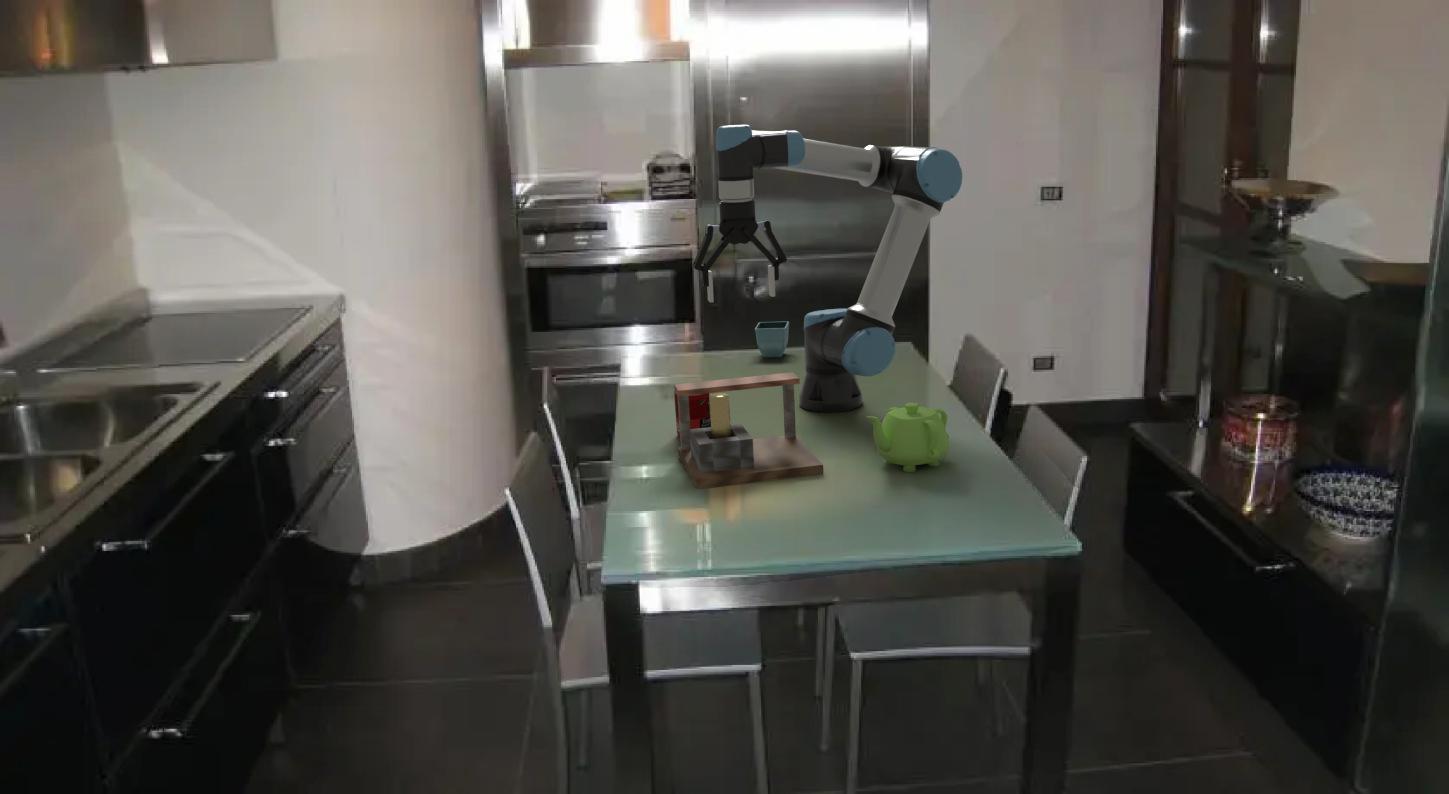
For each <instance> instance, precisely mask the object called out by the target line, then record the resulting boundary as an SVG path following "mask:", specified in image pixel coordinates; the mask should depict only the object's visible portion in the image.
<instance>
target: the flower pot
mask: <svg viewBox="0 0 1449 794" xmlns="http://www.w3.org/2000/svg"><path fill="white" fill-rule="evenodd" d="M789 329H790V322H789V321H761V322H758V323H757V325H756V326H755V328H754V332H755V338H756V343H757V348H758V350H759V351H760V354H761V355H762V356H763V358H766V359H767V358H782V357H783V355H784V352H785V351H786V349H787V346H788V341H789V332H790V331H789Z"/></svg>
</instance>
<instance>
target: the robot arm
mask: <svg viewBox="0 0 1449 794" xmlns="http://www.w3.org/2000/svg"><path fill="white" fill-rule="evenodd" d="M715 133H716V134H715V135H716V136H715V151H716V162H717V176H718V177H717V179H718V180H717V181H718V198H719V199H720V200H721V201H719V204H718V205H719V225H715V224H714V225H712V224H709V223H708V224H706V225H705V231H704V233H705V234H704V236H703V239H702V241H701V244H700V246H699V249H698V251H697V254H696V255H695V259H694V261H693V264H692V268H693V269H695V271H699V272H701V285H702V286H703V287H704V288H705V287H706V289H707V301H708V302H709V303H714V283H713V271H711V270H710V269H711V268H712V266H713V265H714V264H715V262H716V261H717V259H718V258H719V257H720V256H721V254H722V253H723V252H724V250H725V248H726V247H728V245H730V244H731V245H735V246H736V245H738V244H745V245H746V244H748V243H752V245H754V247H755V248H756V249H757V250H758V251H759V252H760V253H761V254H762V255H763V257H765V259H767V260H768V262H769V263H771V264H769V265H767V276H768V277H767V280H768V281H767V282H768V295H769V296H770V297H771V298H772V297H773V298H774V297H776V283H775V282H776V281H779V280H780V269H779V268H780V265H781V264H784V263H786V262H787V261H788V258H787V256H786V255H785V253H784V251H783V249H782V248H781V246H780V244H779V241H778V240H777V238H776V236H775V234H774V233H773V231H772V223H771V222H770V221H769V220H767V219H763V220H762V221H759V222H758V221H757V220H756V204H755V203H756V202H755V200H754V199H753V198H754V197H755V184H754V182H755V180H754V170H760V169H761V170H763V169H776V170H777V169H778V170H784V171H790V172H796V173H803V174H804V173H805V174H810V175H815V176H816V175H817V176H821V177H823V176H824V177H831V178H836V179H843V180H850V181H856V182H858V183H859V185H860V186H862V187H865V188H866V187H867V188H873V189H876V190H880V191H882V192H885V193H890V194H891V199H892V202H893V204H894V207H893V211H892V213H891V215H890V218H889V221H888V222H887V226H886V228H885V231H884V233H883V234H882V235H883V236H882V239H881V241H880V243H879V246H878V249H877V251H876V253H875V256H874V259H873V261H872V264H871V265H870V268H869V272H868V273H867V276H866V279H865V282H864V284H863V286H862V289H861V292H860V294H859V297H858V299H857V302H856V303H855V304H854V305H852V306H850V307H847V308H833V309H832V308H831V309H824V310H823V309H822V310H815V311H812V312H808V313H806V315H804V319H803V336H804V337H803V338H804V340H803V341H804V359H805V360H804V363H805V364H804V365H805V376H804V377H803V382H802V384H801V385H802V386H801V389H800V393H799V395H798V396H799V406H800V407H801V408H802V409H805V410H806V411H813V412H819V413H835V412H843V411H844V412H845V411H849V410H853V409H856V408H859V407H860V406H861V405H862V404H863V394H862V390H861V388H860V385H859V382H858V379H857V377H856V376H862V377H874V376H877V375H878V374H881V373H882V372H884V371H885V370H887V368H888V367H889V366H890V365H891V364H892V361H893V360H894V356H895V353H896V344H895V339H894V337H893V333H894V330H895V329H896V325H895V322H894V320H893V315H894V312H895V310H896V307H897V305H898V302H899V300H900V297H901V295H902V292H903V290H904V287H905V284H906V282H907V280H908V277H909V274H910V272H911V270H912V267H913V264H914V261H915V259H916V257H917V254H918V252H919V248H920V246H921V244H922V241H923V239H924V236H925V234H926V232H927V231H926V230H927V229H928V226H929V223H930V221H931V220H932V218H935V217H937V216H939V215H940V213H941V211H942V209H943V206H944V203H945V202H948V201H950V200H951V199H954V198H955V197H956V196H957V195H958V193H959V191H960V190H961V188H962V182H963V171H962V170H963V169H962V167H961V165H960V161H959V160H958V158H957V157H956V155H954V153H952V152H950V151H948V150H946V149H943V148H939V147H936V146H931V147H926V146H914V145H913V146H911V145H902V146H901V145H899V146H877V145H873V144H872V145H871V144H868V145H866V146H865V147H858V146H851V145H845V144H838V143H832V142H827V141H821V140H820V141H819V140H814V139H807V138H804V137H803V135H802V133H800V131H798V130H787V129H784V130H779V131H773V130H756V129H755V130H754V129H753V130H752V127H751V125H749V124H732V125H722V126H719V127H718V128H717V129H716V132H715ZM758 228H760V231H762V232H764V234H765V236H766V238H767V240H768V242H769V244H770V245H771V248H772V249H773V251H774V253H775V254H776V256H777V257H775V256H774V255H773V254H772V252H770V251H769V250H768V249H767V248H766V247H765V246H764V244H763V243H762V242H761V241H760V240H759V239H758V238H757V236H755V234H756V232H757V230H758ZM717 232H719V233H720V234H721V236H722V237H721V238H720V239H719V241H718V243H717V244H716V246H715V247H714V248H713V250H712V251H711V253H710V254H709V255H708V257H707V258H706V260H704V259H705V257H706V255H707V252H708V250H709V248H710V245H711V243H712V241H713V238H714V236H715V235H716V234H717Z"/></svg>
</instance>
